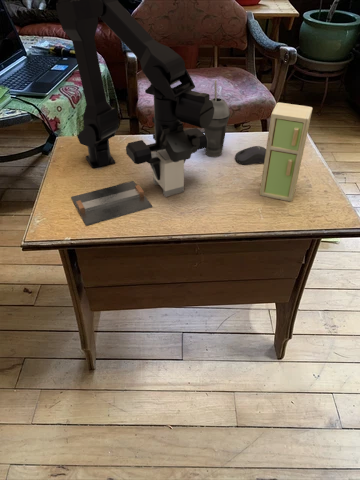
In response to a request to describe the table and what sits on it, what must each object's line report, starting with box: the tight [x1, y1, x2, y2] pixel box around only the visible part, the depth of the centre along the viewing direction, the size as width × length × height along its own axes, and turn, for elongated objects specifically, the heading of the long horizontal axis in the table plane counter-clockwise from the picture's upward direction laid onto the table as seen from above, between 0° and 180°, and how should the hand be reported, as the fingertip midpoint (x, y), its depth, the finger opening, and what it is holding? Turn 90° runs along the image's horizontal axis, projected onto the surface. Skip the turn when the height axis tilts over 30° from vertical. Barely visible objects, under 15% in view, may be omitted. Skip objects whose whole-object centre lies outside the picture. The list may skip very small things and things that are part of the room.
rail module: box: [152, 150, 185, 198], centre depth 99 cm, size 7×5×9 cm
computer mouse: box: [234, 145, 266, 166], centre depth 112 cm, size 6×9×4 cm, turn 98°
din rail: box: [70, 180, 153, 227], centre depth 97 cm, size 12×16×2 cm
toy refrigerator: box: [259, 102, 313, 202], centre depth 94 cm, size 8×7×21 cm
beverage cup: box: [203, 79, 231, 158], centre depth 109 cm, size 7×7×20 cm
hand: (168, 176), depth 100 cm, fingers closed on rail module, 5 cm apart
